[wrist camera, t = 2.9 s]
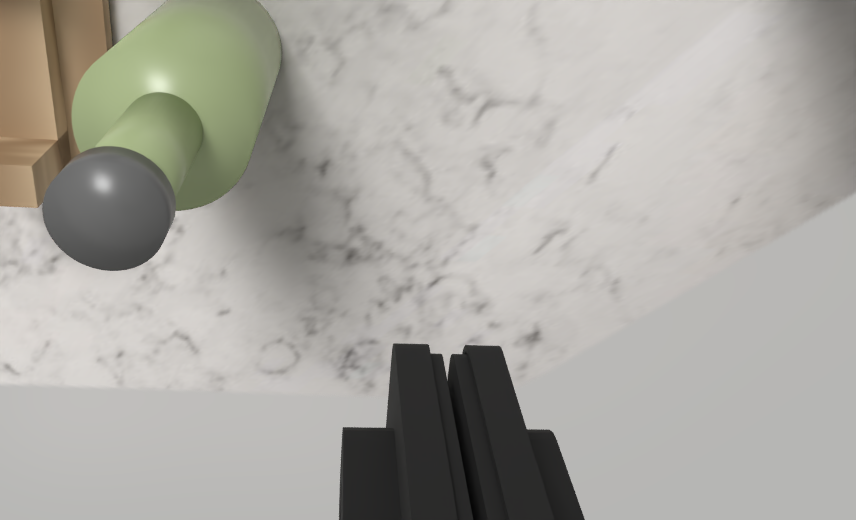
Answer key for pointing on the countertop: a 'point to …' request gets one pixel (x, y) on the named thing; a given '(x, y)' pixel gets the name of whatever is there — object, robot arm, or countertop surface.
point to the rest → (43, 88)
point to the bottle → (162, 128)
